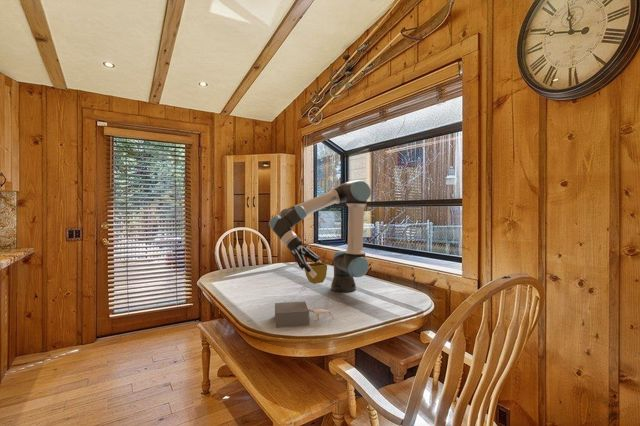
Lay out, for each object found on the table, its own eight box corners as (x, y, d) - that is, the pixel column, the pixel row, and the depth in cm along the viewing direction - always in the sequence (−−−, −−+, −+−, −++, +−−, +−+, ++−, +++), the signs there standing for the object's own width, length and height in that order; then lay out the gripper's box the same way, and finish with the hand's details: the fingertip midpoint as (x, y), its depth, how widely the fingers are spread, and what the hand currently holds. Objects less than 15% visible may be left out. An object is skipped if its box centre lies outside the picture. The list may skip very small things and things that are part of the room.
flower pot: (311, 285, 146) (311, 266, 146) (304, 281, 154) (303, 263, 154) (328, 283, 150) (327, 264, 150) (320, 279, 158) (319, 261, 158)
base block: (305, 314, 146) (305, 301, 145) (309, 325, 132) (308, 311, 132) (274, 316, 143) (274, 303, 143) (275, 327, 129) (275, 313, 129)
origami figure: (306, 325, 131) (305, 314, 131) (307, 318, 140) (306, 307, 140) (334, 325, 131) (334, 314, 131) (333, 318, 140) (333, 307, 140)
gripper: (298, 243, 169) (325, 273, 163) (274, 249, 147) (304, 284, 141) (307, 234, 167) (334, 264, 161) (284, 238, 145) (315, 273, 139)
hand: (320, 273), depth 151 cm, fingers closed on flower pot, 12 cm apart
